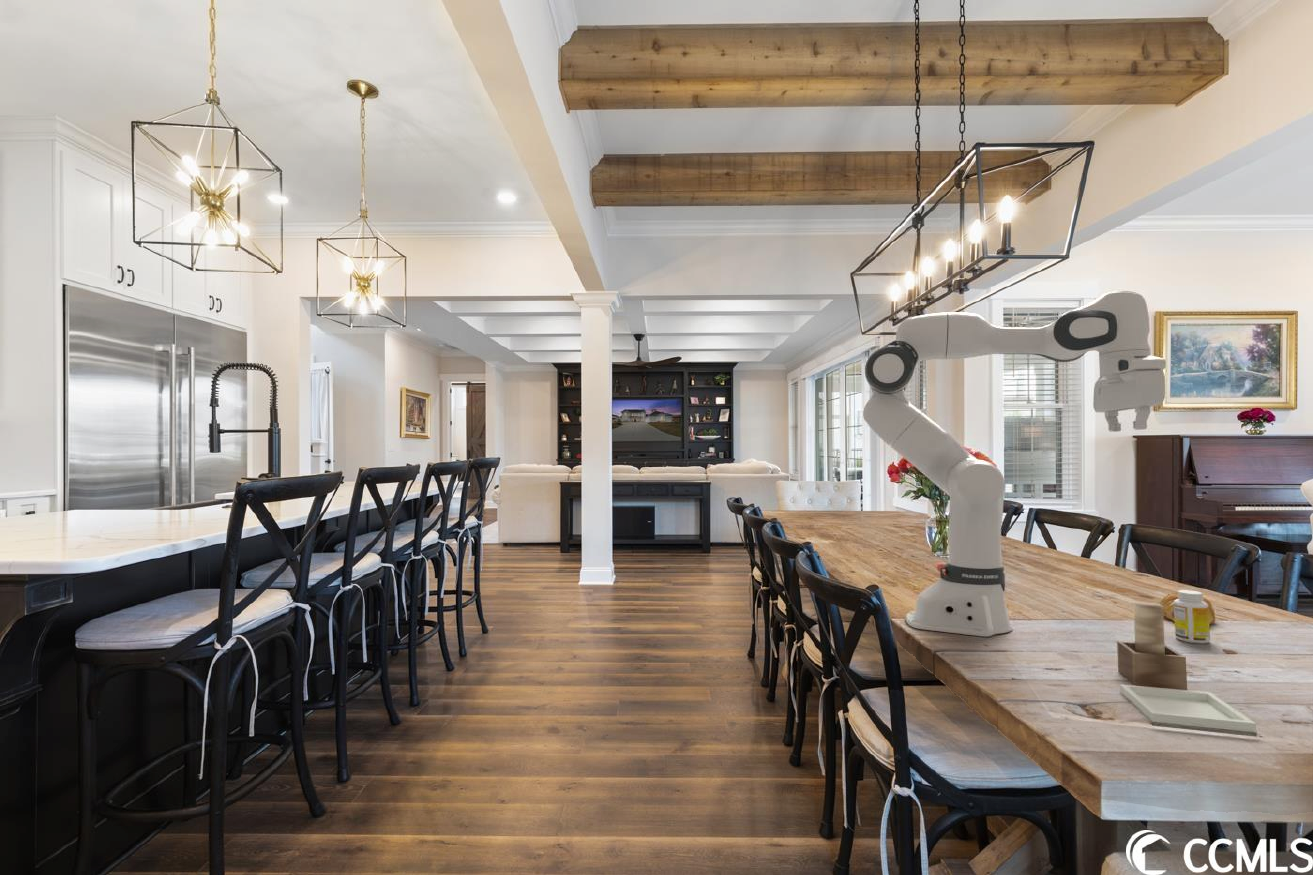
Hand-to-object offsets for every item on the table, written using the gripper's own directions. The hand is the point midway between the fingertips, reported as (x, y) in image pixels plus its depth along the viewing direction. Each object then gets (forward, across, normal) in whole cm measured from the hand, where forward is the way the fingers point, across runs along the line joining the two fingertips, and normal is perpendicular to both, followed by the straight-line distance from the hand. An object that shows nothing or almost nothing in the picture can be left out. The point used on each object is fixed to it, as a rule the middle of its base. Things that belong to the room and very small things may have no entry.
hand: (1126, 430), depth 131 cm
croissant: (+45, -21, +22) cm, 54 cm away
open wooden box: (+45, +27, -11) cm, 54 cm away
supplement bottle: (+45, -2, +12) cm, 47 cm away
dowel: (+44, +27, -11) cm, 53 cm away
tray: (+45, +40, -14) cm, 62 cm away
